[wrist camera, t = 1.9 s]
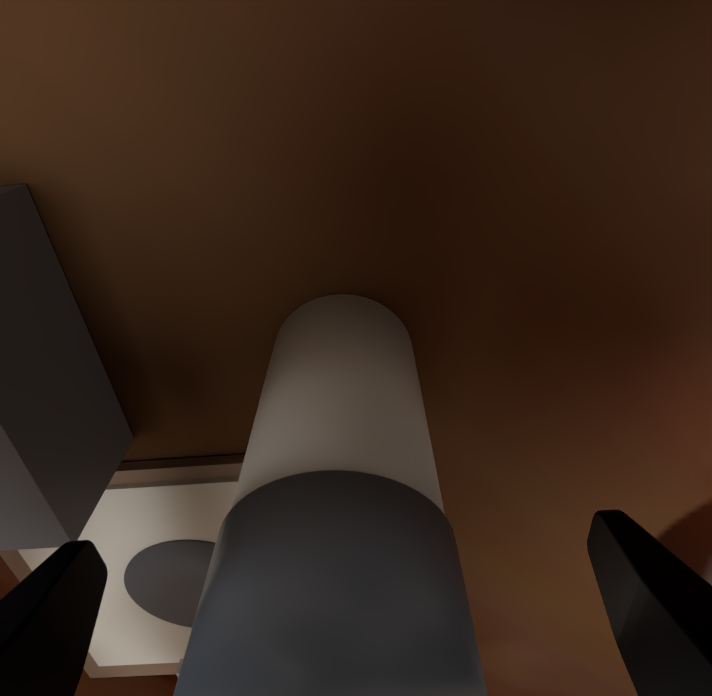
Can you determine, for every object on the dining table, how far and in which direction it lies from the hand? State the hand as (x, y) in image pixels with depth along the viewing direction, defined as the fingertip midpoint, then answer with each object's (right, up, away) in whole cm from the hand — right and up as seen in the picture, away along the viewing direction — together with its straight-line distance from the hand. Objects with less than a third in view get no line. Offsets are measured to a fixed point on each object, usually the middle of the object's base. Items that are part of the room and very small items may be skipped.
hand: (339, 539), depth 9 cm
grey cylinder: (0, +3, +5) cm, 6 cm away
